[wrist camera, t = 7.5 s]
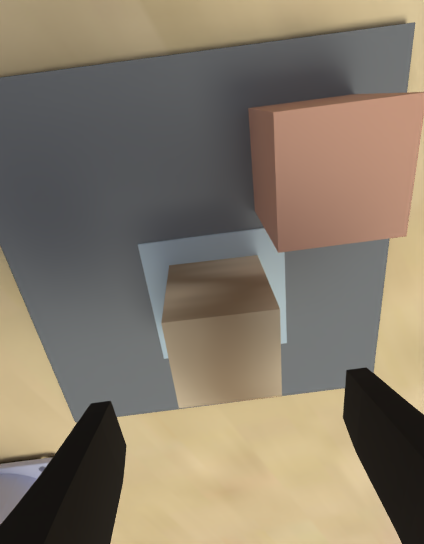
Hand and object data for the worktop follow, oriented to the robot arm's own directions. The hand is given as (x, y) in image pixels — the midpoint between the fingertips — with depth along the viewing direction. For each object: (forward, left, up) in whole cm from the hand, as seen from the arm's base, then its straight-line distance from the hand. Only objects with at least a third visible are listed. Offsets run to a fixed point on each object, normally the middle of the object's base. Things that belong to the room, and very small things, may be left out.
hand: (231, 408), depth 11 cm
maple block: (0, 0, -7) cm, 7 cm away
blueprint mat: (0, +2, -7) cm, 7 cm away
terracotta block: (+4, +6, -7) cm, 10 cm away
